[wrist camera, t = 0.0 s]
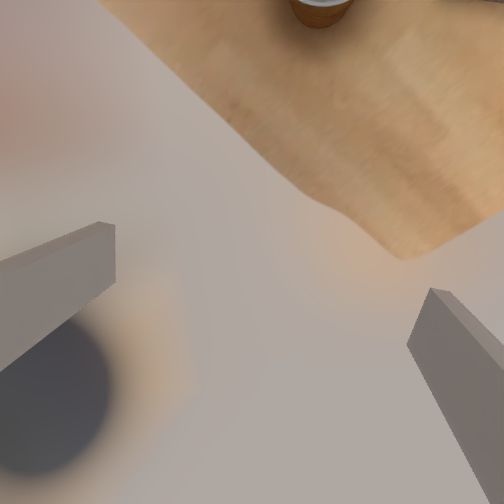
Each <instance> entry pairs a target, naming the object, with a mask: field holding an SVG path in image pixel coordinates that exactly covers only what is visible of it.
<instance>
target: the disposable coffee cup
mask: <svg viewBox="0 0 504 504" xmlns="http://www.w3.org/2000/svg"><path fill="white" fill-rule="evenodd" d="M353 1H354V0H290V3H291V5H292V8H293V11H294V13H295V15H296V16H297V18H298V19H299V20H300V21H301V22H302V23H303V24H305V25H307V26H309V27H312V28H323V27H328V26H330V25H332V24H333V23H335V22H336V21H338V20H339V19H340V18H341V17H342V16H343V14H344V13H345V11H346V10H347V9H348V7H349V6H350V5H351V4H352V2H353Z"/></svg>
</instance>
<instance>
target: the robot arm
mask: <svg viewBox="0 0 504 504" xmlns="http://www.w3.org/2000/svg"><path fill="white" fill-rule="evenodd" d="M115 282H116V281H115V225H113V224H108V223H103V222H96V223H94V224H91V225H89V226H86V227H84V228H81V229H79V230H76V231H74V232H72V233H69V234H67V235H64V236H62V237H59V238H57V239H54V240H52V241H49V242H47V243H44V244H42V245H39V246H37V247H35V248H32V249H30V250H28V251H25V252H22V253H20V254H17V255H15V256H13V257H10V258H8V259H5V260H3V261H0V371H1V370H3V369H4V368H5V367H7V366H8V365H9V364H11V363H12V362H13V361H14V360H16V359H17V358H18V357H19V356H21V355H22V354H23V353H25V352H26V351H27V350H29V349H30V348H31V347H32V346H34V345H35V344H36V343H38V342H39V341H40V340H41V339H43V338H44V337H45V336H47V335H48V334H49V333H50V332H52V331H53V330H54V329H56V328H57V327H58V326H59V325H61V324H62V323H63V322H65V321H66V320H67V319H68V318H70V317H71V316H72V315H74V314H75V313H76V312H78V311H79V310H80V309H81V308H83V307H84V306H85V305H87V304H88V303H89V302H90V301H92V300H93V299H94V298H96V297H97V296H98V295H100V294H101V293H102V292H103V291H105V290H106V289H107V288H109V287H110V286H111V285H112V284H114V283H115ZM407 346H408V348H409V350H410V352H411V354H412V356H413V358H414V360H415V362H416V363H417V365H418V367H419V369H420V371H421V373H422V375H423V377H424V379H425V381H426V383H427V384H428V386H429V388H430V390H431V392H432V394H433V396H434V398H435V399H436V401H437V403H438V405H439V407H440V409H441V411H442V413H443V415H444V417H445V419H446V421H447V423H448V424H449V426H450V428H451V430H452V432H453V434H454V436H455V438H456V439H457V441H458V443H459V445H460V447H461V449H462V451H463V453H464V455H465V457H466V459H467V461H468V462H469V464H470V466H471V468H472V470H473V472H474V474H475V476H476V478H477V479H478V481H479V483H480V485H481V487H482V489H483V491H484V493H485V495H486V497H487V498H488V501H489V502H490V504H504V345H503V344H502V343H501V342H500V341H499V340H498V339H497V338H496V337H495V336H494V335H493V334H492V333H491V332H490V331H489V330H488V329H487V328H486V327H485V326H484V325H483V324H482V323H481V322H480V321H479V320H478V319H477V318H476V317H475V316H474V315H473V314H472V313H471V312H470V311H469V310H468V309H467V308H466V307H465V306H464V305H463V304H462V303H461V302H460V301H459V300H458V299H457V298H456V297H455V296H454V295H453V294H452V293H451V292H449V291H444V290H439V289H434V288H430V289H429V292H428V294H427V296H426V299H425V301H424V304H423V306H422V309H421V311H420V313H419V316H418V319H417V321H416V323H415V326H414V328H413V330H412V333H411V335H410V338H409V340H408V342H407Z"/></svg>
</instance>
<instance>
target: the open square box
mask: <svg viewBox="0 0 504 504" xmlns="http://www.w3.org/2000/svg"><path fill="white" fill-rule="evenodd" d="M485 1H493V2H501V3H504V0H485Z"/></svg>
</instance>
